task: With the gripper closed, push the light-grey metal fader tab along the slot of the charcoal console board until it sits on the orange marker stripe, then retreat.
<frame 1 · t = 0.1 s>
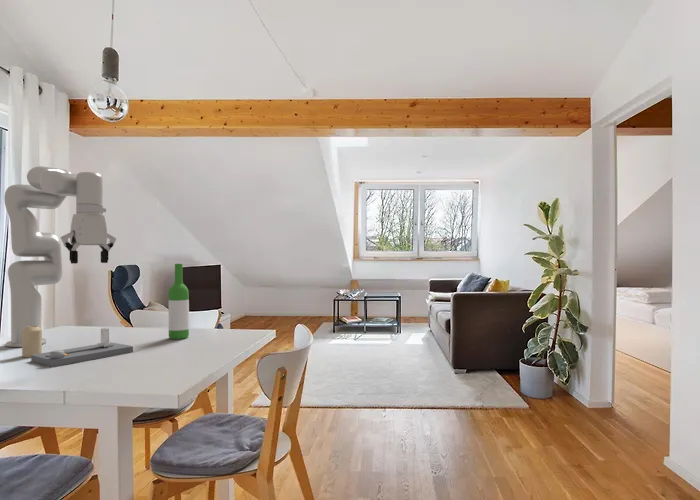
hand: (89, 263, 155), 31 cm above the table, fingers open, 9 cm apart
console: (84, 356, 159), on the table
wine bottle: (178, 338, 193), on the table
candle: (32, 356, 160), on the table
fader: (104, 337, 165), point 5 cm above the table, slide at 0.0 cm
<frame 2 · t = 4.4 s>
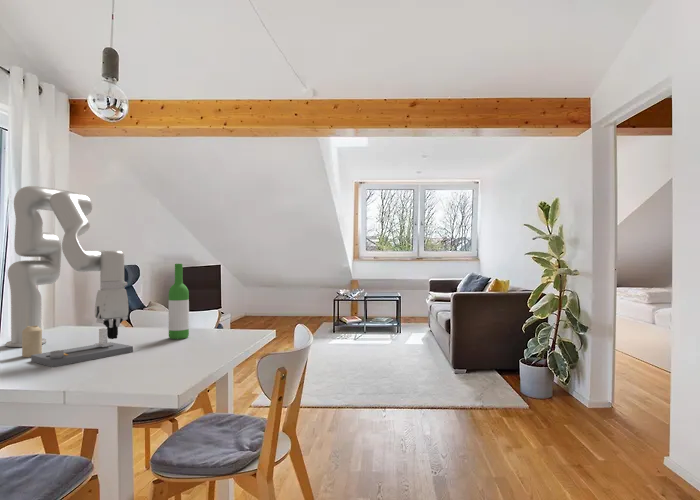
hand: (112, 338, 167), 5 cm above the table, fingers closed
fader: (103, 337, 164), point 5 cm above the table, slide at 0.6 cm, touching gripper
everything else where it was.
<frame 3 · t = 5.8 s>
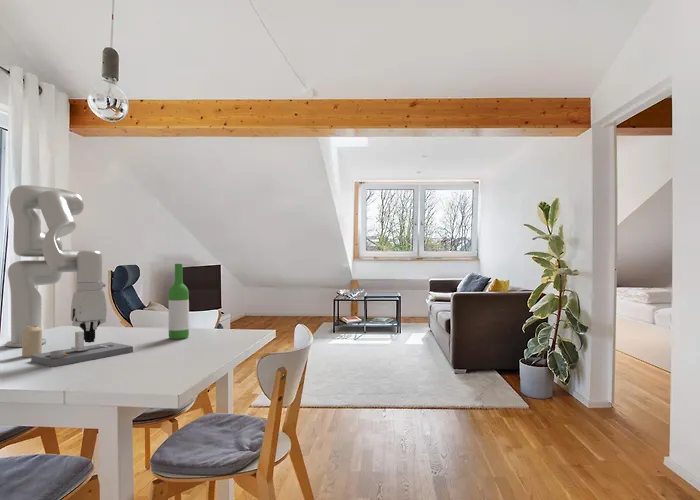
hand: (89, 341, 160), 5 cm above the table, fingers closed
fader: (79, 340, 157), point 5 cm above the table, slide at 8.6 cm, touching gripper
everything else where it was.
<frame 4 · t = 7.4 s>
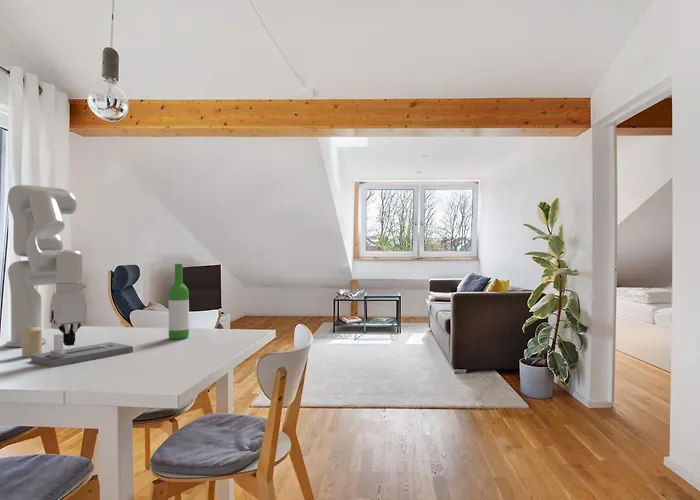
hand: (69, 344, 155), 5 cm above the table, fingers closed
fader: (58, 344, 152), point 5 cm above the table, slide at 15.1 cm, touching gripper
everything else where it was.
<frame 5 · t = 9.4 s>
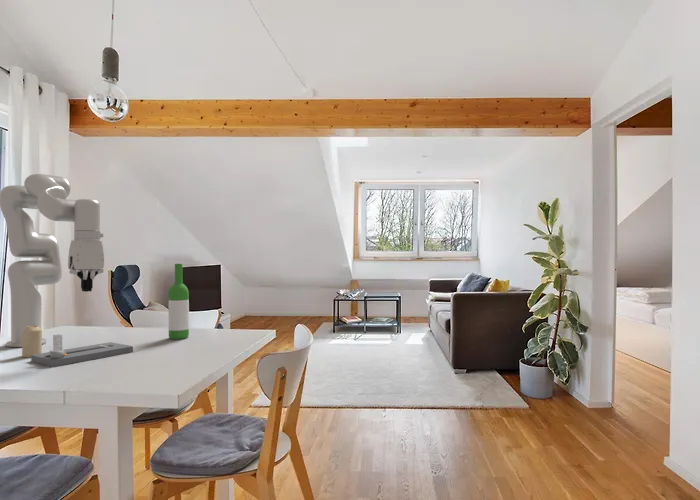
hand: (86, 291, 160), 22 cm above the table, fingers closed
fader: (57, 344, 152), point 5 cm above the table, slide at 15.3 cm
everything else where it was.
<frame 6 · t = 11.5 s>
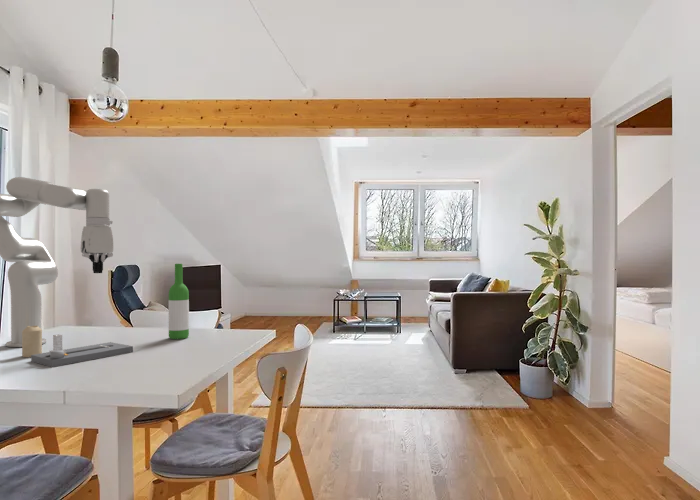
hand: (97, 273, 175), 27 cm above the table, fingers closed
nothing on the table moved.
at the end: fader slide at 15.3 cm; fader touching nothing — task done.
